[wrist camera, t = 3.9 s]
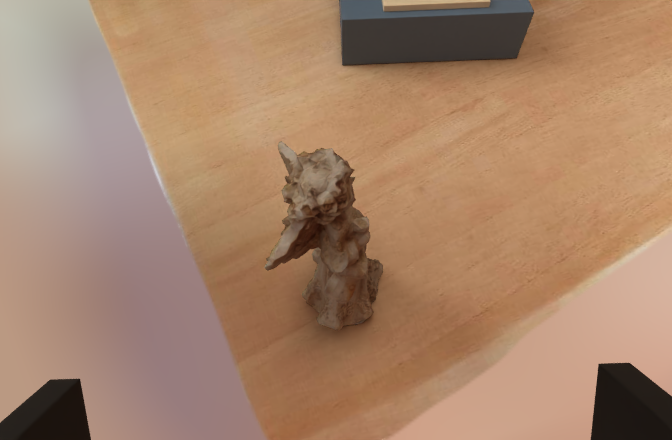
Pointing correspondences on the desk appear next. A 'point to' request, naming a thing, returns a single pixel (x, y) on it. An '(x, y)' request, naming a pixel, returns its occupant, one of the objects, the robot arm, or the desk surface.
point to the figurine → (327, 237)
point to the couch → (431, 30)
